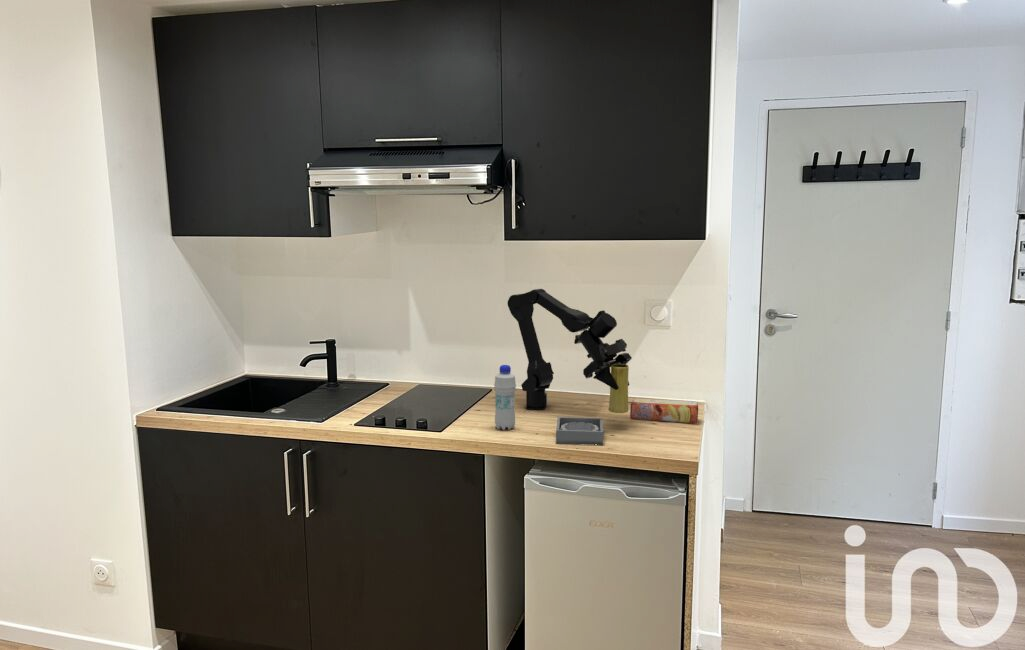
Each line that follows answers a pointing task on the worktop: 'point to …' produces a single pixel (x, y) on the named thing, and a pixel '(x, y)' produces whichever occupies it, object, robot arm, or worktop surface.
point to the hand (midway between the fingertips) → (622, 387)
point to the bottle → (505, 398)
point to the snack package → (664, 410)
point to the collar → (579, 426)
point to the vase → (619, 396)
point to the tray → (579, 432)
